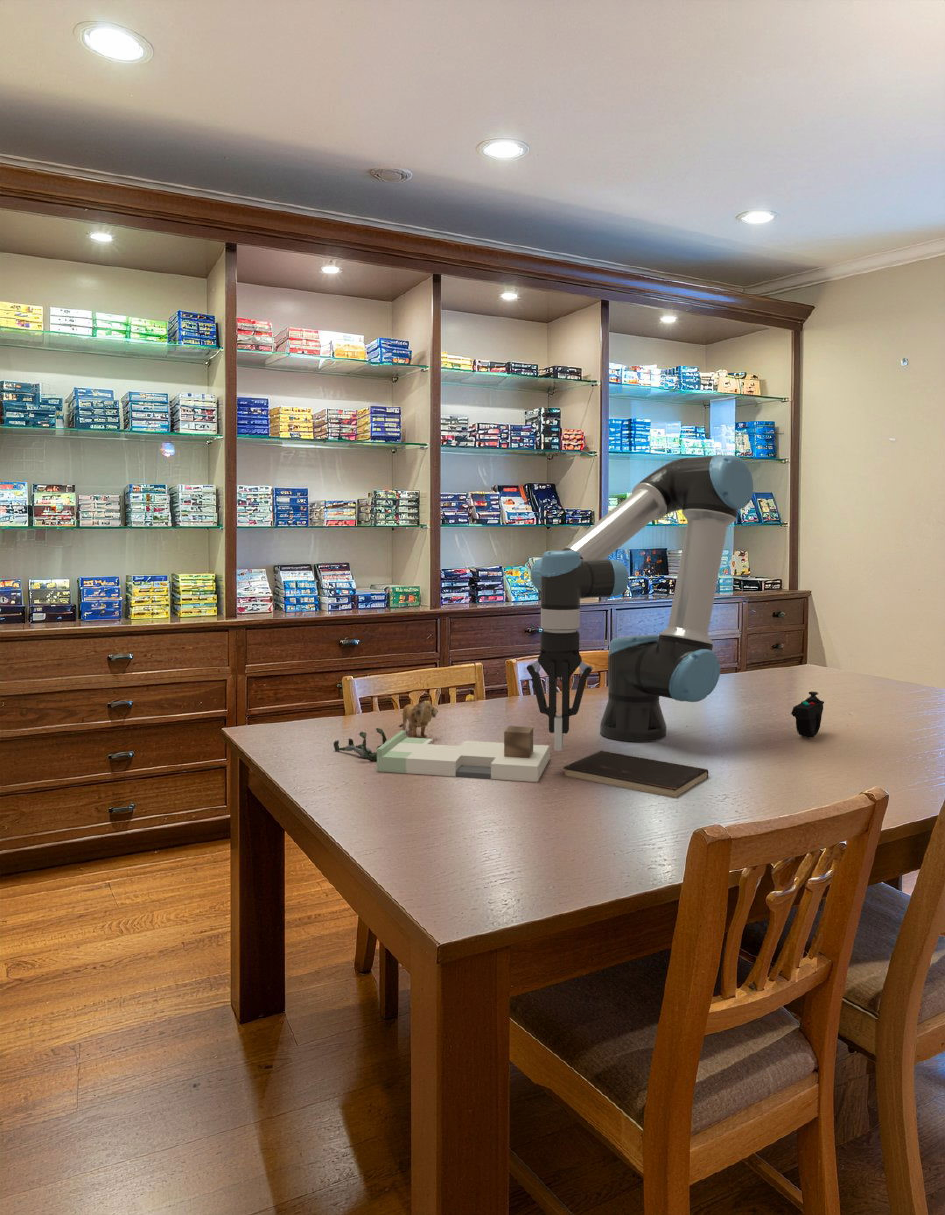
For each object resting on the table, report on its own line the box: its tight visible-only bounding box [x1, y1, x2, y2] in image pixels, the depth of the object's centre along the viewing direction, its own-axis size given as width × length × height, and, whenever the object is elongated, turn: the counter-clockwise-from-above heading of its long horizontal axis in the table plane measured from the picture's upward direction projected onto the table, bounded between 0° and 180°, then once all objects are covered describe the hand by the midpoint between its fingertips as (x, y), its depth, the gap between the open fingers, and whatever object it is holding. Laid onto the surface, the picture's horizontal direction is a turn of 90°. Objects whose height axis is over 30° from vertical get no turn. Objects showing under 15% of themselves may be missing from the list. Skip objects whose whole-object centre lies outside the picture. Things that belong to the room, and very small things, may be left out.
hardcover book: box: [562, 750, 709, 798], centre depth 165 cm, size 16×23×2 cm
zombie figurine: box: [333, 727, 388, 761], centre depth 180 cm, size 5×7×15 cm
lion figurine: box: [398, 700, 439, 739], centre depth 198 cm, size 15×5×9 cm, turn 34°
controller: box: [790, 691, 825, 739], centre depth 196 cm, size 4×12×10 cm, turn 141°
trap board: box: [376, 730, 550, 783], centre depth 173 cm, size 32×16×4 cm, turn 77°
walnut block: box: [503, 725, 534, 758], centre depth 170 cm, size 5×5×5 cm
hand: (558, 749), depth 168 cm, fingers closed
